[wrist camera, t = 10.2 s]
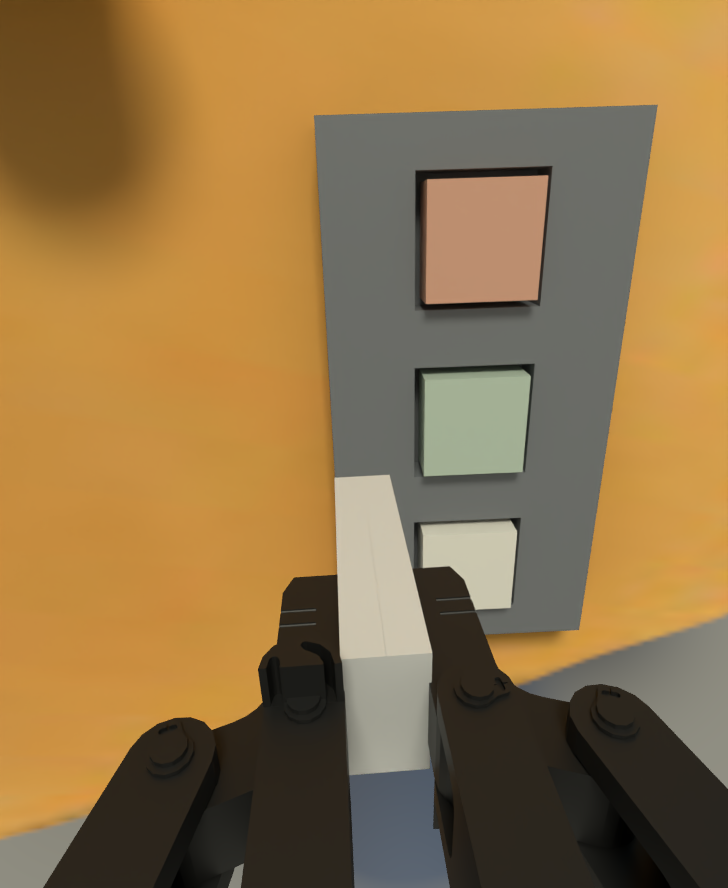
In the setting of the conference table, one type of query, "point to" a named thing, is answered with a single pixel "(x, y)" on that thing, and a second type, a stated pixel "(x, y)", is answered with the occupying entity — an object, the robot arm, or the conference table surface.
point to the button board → (485, 322)
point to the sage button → (472, 419)
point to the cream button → (473, 556)
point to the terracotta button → (481, 238)
